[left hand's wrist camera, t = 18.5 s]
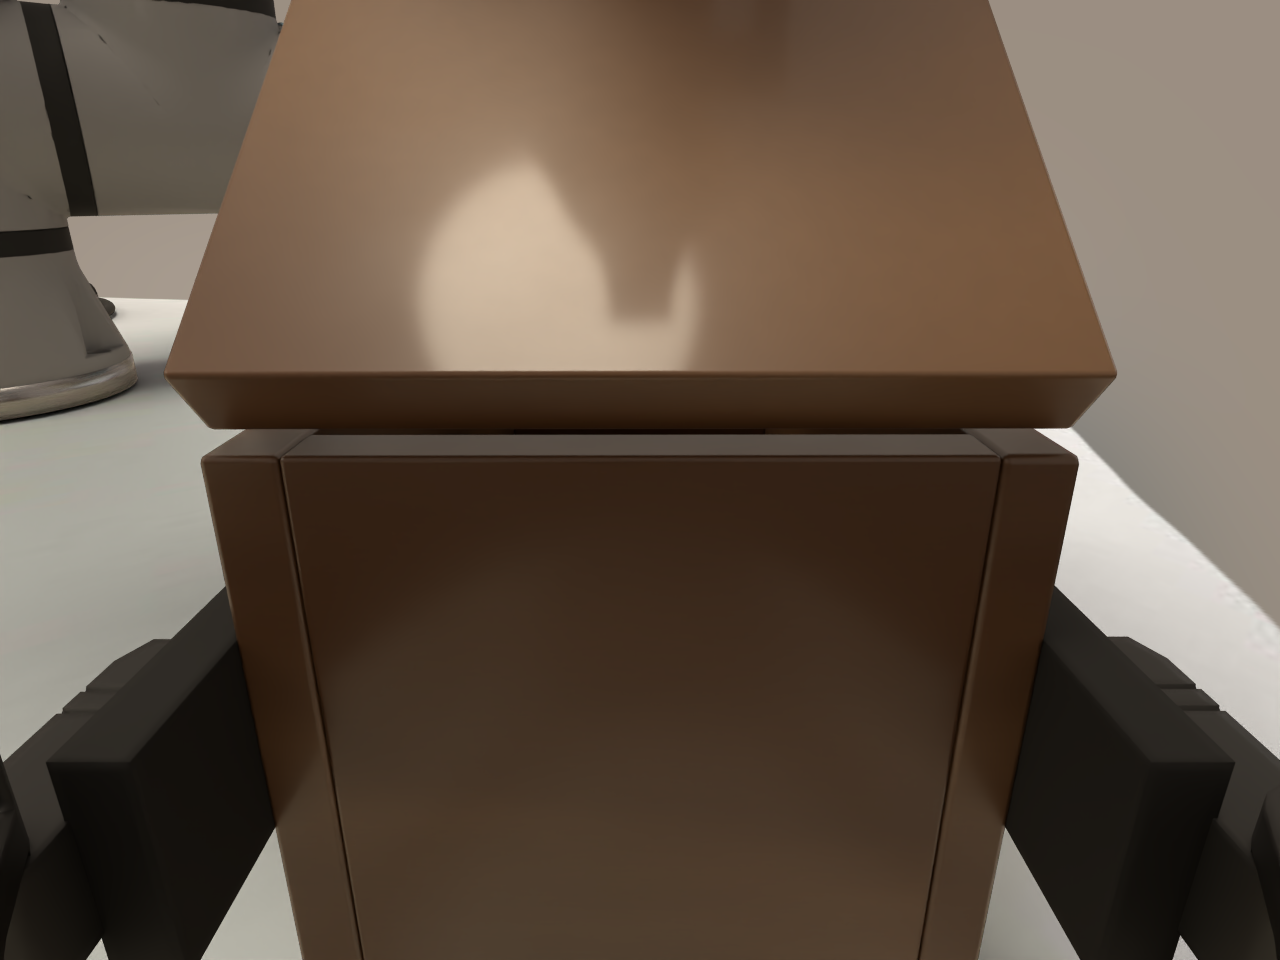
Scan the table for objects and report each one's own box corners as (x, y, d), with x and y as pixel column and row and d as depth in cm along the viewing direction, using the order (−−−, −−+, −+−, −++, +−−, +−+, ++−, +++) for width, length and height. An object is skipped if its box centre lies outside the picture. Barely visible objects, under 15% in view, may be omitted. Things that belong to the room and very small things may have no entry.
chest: (501, 585, 27) (480, 278, 23) (777, 584, 27) (798, 278, 23) (329, 1097, 12) (196, 456, 8) (953, 1096, 12) (1084, 456, 8)
